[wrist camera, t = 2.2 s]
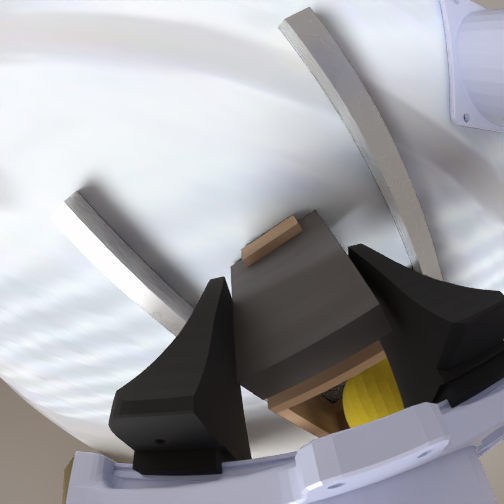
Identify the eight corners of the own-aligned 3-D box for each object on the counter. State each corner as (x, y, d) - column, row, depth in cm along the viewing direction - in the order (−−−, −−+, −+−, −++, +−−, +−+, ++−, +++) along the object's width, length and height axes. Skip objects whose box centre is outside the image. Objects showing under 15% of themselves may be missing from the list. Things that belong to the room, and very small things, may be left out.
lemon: (402, 326, 19) (452, 414, 12) (391, 370, 22) (426, 447, 15) (330, 346, 19) (367, 449, 12) (330, 389, 22) (355, 474, 15)
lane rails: (448, 340, 21) (456, 352, 20) (313, 418, 24) (316, 431, 23) (300, 15, 9) (309, 6, 8) (64, 206, 13) (50, 218, 11)
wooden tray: (432, 350, 21) (469, 412, 15) (328, 410, 23) (346, 477, 17) (358, 170, 13) (451, 238, 7) (183, 288, 15) (167, 403, 9)
